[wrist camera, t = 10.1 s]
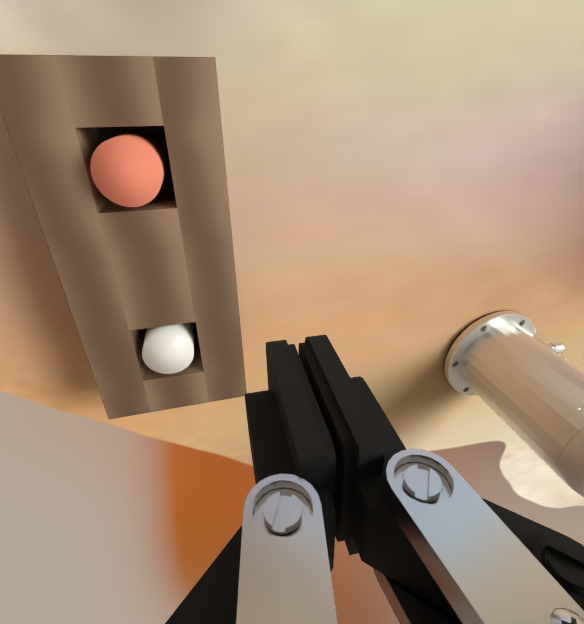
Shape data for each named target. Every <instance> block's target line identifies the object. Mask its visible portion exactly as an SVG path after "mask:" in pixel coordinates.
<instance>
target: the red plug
mask: <svg viewBox="0 0 584 624" xmlns="http://www.w3.org/2000/svg"><path fill="white" fill-rule="evenodd" d="M90 169H91V175H92V178H93V181H94V183H95V185H96V187H97V188H98V189H99V191H100V192H101V193H102V194H103V195H104V196H105V197H106V198H107V199H109V200H110V201H112V202H114V203H116V204H118V205H121V206H125V207H139V206H143V205H145V204H147V203H149V202H150V201H152V200H153V199H154V198H155V197H156V196H157V194H158V192H159V190H160V188H161V185H162V182H163V179H164V177H165V174H166V169H167V163H166V158H165V155H164V152H163V150H162V149H161V147H160V146H159V145H158V143H157V142H156V141H155V140H153V139H152V138H151V137H149V136H147V135H145V134H142V133H139V132H127V133H123V134H121V135H118V136H116V137H113V138H111V139H108V140H106V141H104V142H103V143H101V144H100V145H99V146H98V147H97V148H96V149H95V151H94V153H93V155H92V158H91V164H90Z"/></svg>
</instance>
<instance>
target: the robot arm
mask: <svg viewBox="0 0 584 624" xmlns="http://www.w3.org/2000/svg"><path fill="white" fill-rule="evenodd" d="M563 351H564V345H563V344H562V343H560V342H557V343H552V344H546V343H545V342H543V341H542V340H540V339H539V338H537V337H536V330H535V327H534V325H533V323H532V322H531V321H530V320H529V319H528V318H527V317H525V316H523V315H522V314H520V313H517V312H514V311H501V312H496V313H492V314H489V315H487V316H485V317H483V318H481V319H479V320H477V321H476V322H474V323H473V324H471V325H470V326H469V327H468V328H467V329H465V330H464V331H463V332H462V333H461V334H460V336H459V337H458V338H457V339H456V340H455V342H454V343H453V345H452V346H451V348H450V350H449V352H448V354H447V358H446V361H445V369H444V370H445V376H446V379H447V381H448V382H449V384H450V385H451V386H452V387H453V388H454V389H455V390H456V391H458V392H460V393H462V394H466V395H478V396H479V397H480V398H481V399H482V400H483V401H484V402H485V403H486V404H487V405H488V406H489V407H490V408H491V409H492V410H493V411H494V412H495V413H496V414H497V415H498V416H499V417H500V418H501V419H502V420H503V421H504V422H505V423H506V424H507V425H508V426H509V427H510V428H511V429H512V430H513V431H514V432H515V433H516V434H517V435H518V436H519V437H520V438H521V439H522V440H523V441H524V442H525V443H526V444H527V445H528V446H529V447H530V448H531V449H532V450H533V451H534V452H535V453H536V454H537V455H538V456H539V457H540V458H541V459H542V460H543V461H544V462H545V463H546V464H547V465H548V466H549V467H550V468H551V469H552V470H553V471H554V472H555V473H556V474H557V475H558V476H559V477H560V478H561V479H562V480H563V481H564V482H565V483H566V484H567V485H568V486H569V487H571V488H572V489H573V490H574V491H575V492H577V493H578V494H580V495H581V496H583V497H584V371H582V370H581V369H579V368H578V367H576V366H575V365H573V364H572V363H570V362H569V361H567V360H566V359H565V358H564V357H563V356H562V355H558V354H557V353H562V352H563ZM266 357H267V373H268V389H269V390H267V391H261V392H254V393H248V394H245V402H246V412H247V421H248V430H249V438H250V445H251V453H252V460H253V467H254V474H255V482H256V485H255V486H254V487H253V488H252V489H251V491H250V492H249V494H248V496H247V497H246V500H245V505H244V510H243V524H242V526H241V527H240V529H239V530H238V531H237V533H236V534H235V535H234V536H233V538H232V539H231V540H230V541H229V543H228V544H227V545H226V547H225V548H224V549H223V550H222V552H221V553H220V554H219V555H218V557H217V558H216V559H215V561H214V562H213V563H212V564H211V566H210V567H209V568H208V570H207V571H206V572H205V573H204V575H203V576H202V577H201V579H200V580H199V581H198V582H197V584H196V585H195V586H194V588H193V589H192V590H191V591H190V593H189V594H188V595H187V597H186V598H185V599H184V600H183V602H182V603H181V604H180V605H179V607H178V608H177V609H176V611H175V612H174V613H173V615H172V616H171V617H170V618H169V619H168V621H167V622H166V623H165V624H337V616H336V609H335V602H334V594H333V587H332V580H331V571H332V569H333V559H334V543H335V536H336V539H337V541H338V542H339V541H344V540H345V543H346V546H347V549H348V551H349V555H352V554H356V553H359V554H360V557H361V560H362V561H363V562H365V563H366V564H368V565H369V566H371V567H373V569H374V573H375V576H376V578H377V581H378V583H379V585H380V586H381V588H382V590H383V593H384V594H385V596H386V598H387V600H388V602H389V604H390V606H391V608H392V610H393V612H394V614H395V616H396V618H397V619H398V621H399V623H400V624H584V545H582V544H580V543H578V542H576V541H575V540H573V539H571V538H569V537H567V536H565V535H563V534H561V533H559V532H556V531H554V530H552V529H550V528H547V527H545V526H543V525H541V524H538V523H536V522H534V521H532V520H530V519H527V518H525V517H523V516H521V515H518V514H516V513H514V512H512V511H510V510H507V509H505V508H503V507H501V506H498V505H496V504H494V503H492V502H490V501H487V500H485V499H483V498H481V497H480V496H479V495H478V494H477V493H476V492H475V491H474V490H473V489H472V487H471V486H470V485H469V484H468V483H467V482H466V481H465V480H464V478H463V477H462V476H461V475H460V474H459V473H458V472H457V471H456V470H455V469H454V467H452V466H451V465H450V464H449V463H448V462H447V461H446V460H445V459H443V458H441V457H440V456H438V455H436V454H434V453H432V452H429V451H425V450H421V449H407V450H406V448H405V446H404V445H403V443H402V441H401V440H400V438H399V436H398V435H397V433H396V431H395V430H394V428H393V427H392V425H391V423H390V422H389V420H388V418H387V417H386V415H385V413H384V412H383V410H382V408H381V407H380V405H379V403H378V402H377V400H376V399H375V397H374V395H373V394H372V392H371V390H370V389H369V387H368V385H367V384H366V382H365V381H364V379H363V378H362V377H353V378H350V377H349V375H348V373H347V371H346V370H345V368H344V366H343V364H342V362H341V361H340V359H339V357H338V355H337V353H336V352H335V350H334V348H333V346H332V344H331V343H330V341H329V339H328V337H327V336H326V335H319V336H312V337H306V339H305V343H299V355H298V352H297V350H296V347H295V345H294V344H290V345H288V344H287V341H286V340H280V341H273V342H266Z"/></svg>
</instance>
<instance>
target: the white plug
mask: <svg viewBox="0 0 584 624" xmlns="http://www.w3.org/2000/svg"><path fill="white" fill-rule="evenodd" d="M193 357H194V331H193V322H191V323H184V324H176V325H168V326H160V327H152V328H147V329H146V334H145V339H144V345H143V350H142V358H143V361H144V362H145V364H146V365H147V366H148V367H149V368H150V369H152V370H153V371H155V372H158V373H162V374H173V373H177V372H180V371H182V370H184V369H185V368H187V367H188V366H189V365H190V363H191V362H192V360H193Z"/></svg>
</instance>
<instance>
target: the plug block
mask: <svg viewBox="0 0 584 624" xmlns="http://www.w3.org/2000/svg"><path fill="white" fill-rule="evenodd" d="M0 109H1V112H2V115H3V118H4V121H5V124H6V126H7V129H8V132H9V135H10V138H11V141H12V144H13V147H14V149H15V152H16V155H17V158H18V161H19V164H20V167H21V169H22V172H23V175H24V178H25V181H26V184H27V187H28V190H29V192H30V195H31V198H32V201H33V204H34V207H35V210H36V212H37V215H38V218H39V221H40V224H41V227H42V230H43V233H44V235H45V238H46V241H47V244H48V247H49V250H50V253H51V255H52V258H53V261H54V264H55V267H56V270H57V273H58V275H59V278H60V281H61V284H62V287H63V290H64V293H65V296H66V298H67V301H68V304H69V307H70V310H71V313H72V316H73V318H74V321H75V324H76V327H77V330H78V333H79V336H80V339H81V341H82V344H83V347H84V350H85V353H86V356H87V359H88V361H89V364H90V367H91V370H92V373H93V376H94V379H95V382H96V384H97V387H98V390H99V393H100V396H101V399H102V402H103V404H104V407H105V410H106V413H107V416H108V419H114V418H120V417H125V416H131V415H137V414H143V413H148V412H154V411H160V410H166V409H172V408H177V407H183V406H189V405H195V404H201V403H206V402H212V401H218V400H224V399H230V398H235V397H241V396H245V394H247V391H246V380H245V370H244V359H243V348H242V338H241V327H240V317H239V306H238V295H237V285H236V274H235V263H234V253H233V242H232V231H231V221H230V210H229V199H228V189H227V178H226V168H225V157H224V146H223V136H222V125H221V114H220V104H219V93H218V82H217V72H216V61H215V57H151V56H75V55H0ZM128 126H164V130H165V136H166V142H167V149H168V155H169V161H170V167H171V173H172V179H173V186H174V191H171V192H158V194H157V196H156V197H155V198H154V199H153V200H152V201H150V202H149V203H147V204H145V205H143V206H139V207H125V206H121V205H118V204H116V203H114V202H112V201H110V200H109V199H107V198H106V197H105V196H104V195H103V194H102V193H101V192H100V191H99V189H98V188H97V187H96V185H95V183H94V181H93V178H92V175H91V169H90V164H91V158H92V155H93V153H94V151H95V149H96V148H97V147H98V146H99V145H100V144H101V140H100V136H99V132H98V127H128ZM191 322H196V327H197V333H198V336H194V357H193V360H192V362H191V363H190V365H189V366H188V367H187V368H185V369H184V370H182V371H180V372H177V373H173V374H162V373H158V372H155V371H153V370H152V369H150V368H149V367H148V366H147V365H146V364H145V362H144V361H143V358H142V350H143V345H144V339H145V334H146V328H152V327H160V326H168V325H176V324H184V323H191Z"/></svg>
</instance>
